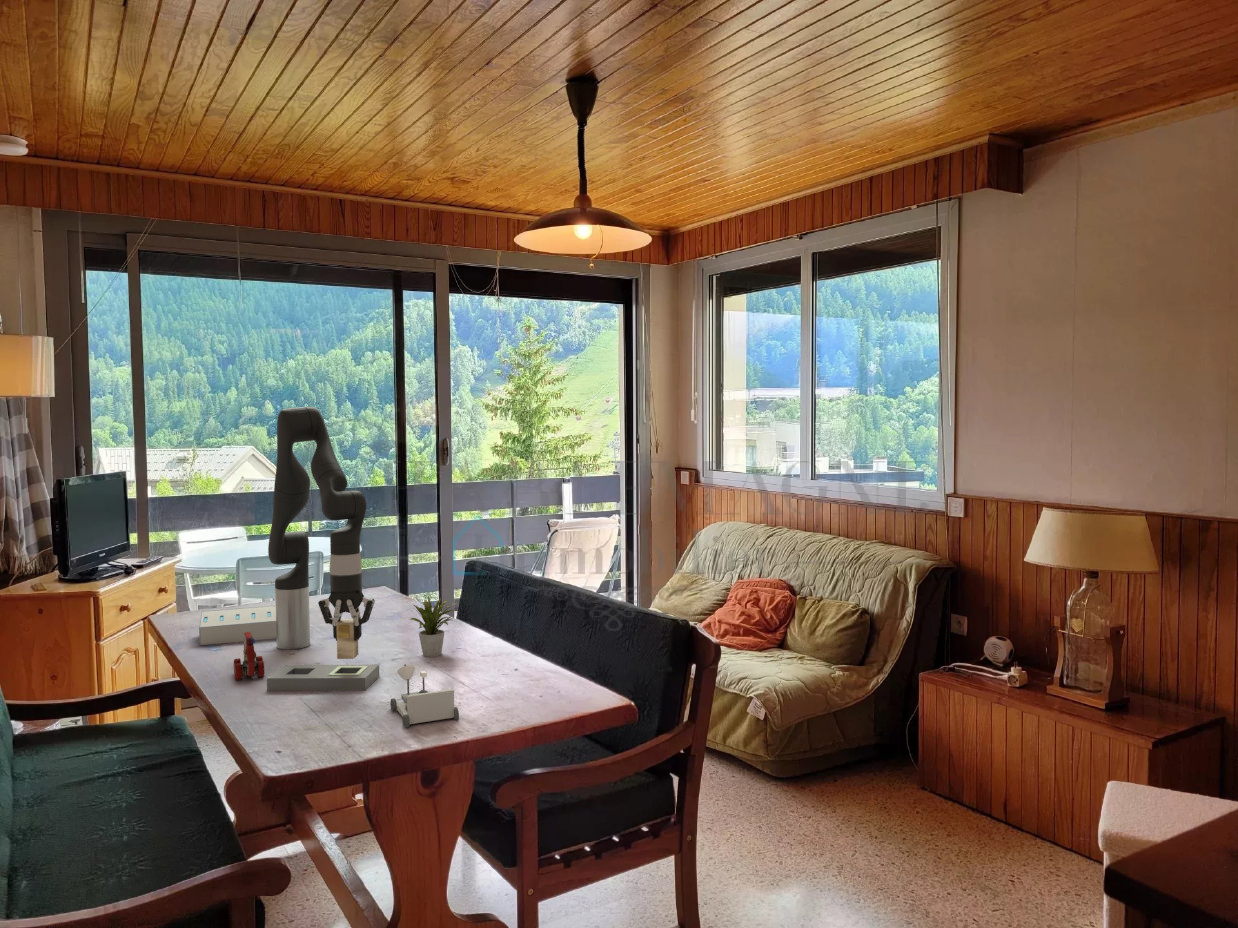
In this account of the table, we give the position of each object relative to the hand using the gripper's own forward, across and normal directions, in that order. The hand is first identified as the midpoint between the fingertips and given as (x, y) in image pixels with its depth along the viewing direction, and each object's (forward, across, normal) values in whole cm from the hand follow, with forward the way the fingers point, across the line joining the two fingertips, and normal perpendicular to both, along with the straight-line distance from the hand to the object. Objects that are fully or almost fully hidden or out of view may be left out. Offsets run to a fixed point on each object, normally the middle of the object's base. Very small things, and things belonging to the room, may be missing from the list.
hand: (347, 639), depth 223 cm
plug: (+4, 0, 0) cm, 4 cm away
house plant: (+11, -15, -26) cm, 32 cm away
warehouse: (+11, +45, -51) cm, 69 cm away
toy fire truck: (+11, +28, -7) cm, 31 cm away
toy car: (+12, -24, +22) cm, 35 cm away
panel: (+11, +6, 0) cm, 12 cm away
